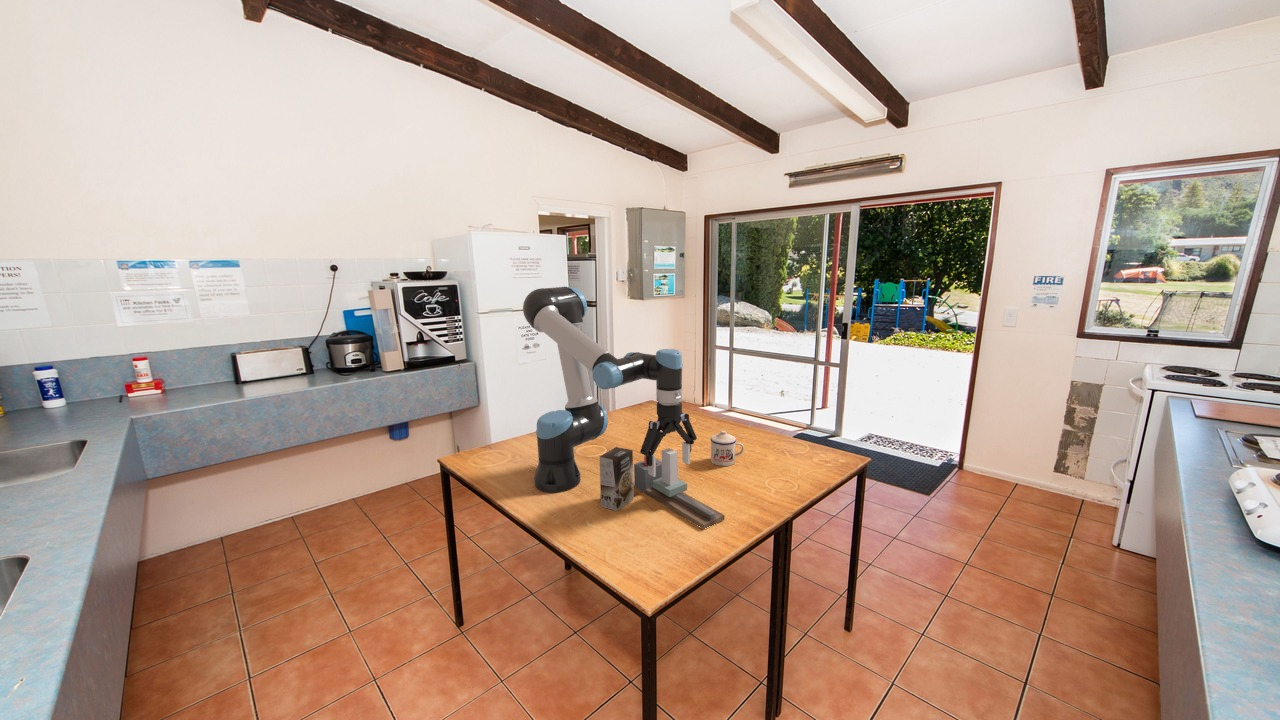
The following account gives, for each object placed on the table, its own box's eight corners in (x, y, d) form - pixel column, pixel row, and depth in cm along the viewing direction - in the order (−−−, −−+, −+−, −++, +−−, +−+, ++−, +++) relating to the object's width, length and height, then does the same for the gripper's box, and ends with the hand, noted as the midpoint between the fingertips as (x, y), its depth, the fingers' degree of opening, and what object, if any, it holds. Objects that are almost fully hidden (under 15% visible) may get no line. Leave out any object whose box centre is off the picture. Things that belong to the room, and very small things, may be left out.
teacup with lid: (711, 466, 166) (711, 435, 164) (709, 456, 175) (709, 426, 173) (745, 467, 165) (746, 436, 163) (741, 456, 174) (742, 427, 172)
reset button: (648, 474, 148) (648, 459, 147) (642, 470, 151) (642, 456, 150) (657, 471, 150) (656, 456, 149) (650, 467, 153) (650, 453, 152)
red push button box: (645, 493, 147) (645, 470, 145) (634, 487, 152) (634, 464, 150) (665, 486, 152) (665, 463, 150) (653, 480, 156) (653, 457, 155)
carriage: (669, 497, 138) (669, 458, 136) (652, 487, 144) (652, 450, 142) (687, 490, 142) (687, 452, 140) (670, 480, 148) (669, 444, 146)
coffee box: (617, 512, 137) (616, 460, 133) (600, 506, 140) (598, 456, 137) (634, 498, 144) (633, 449, 141) (617, 493, 148) (616, 445, 144)
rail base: (703, 529, 127) (704, 519, 126) (645, 493, 147) (645, 485, 146) (724, 520, 131) (724, 510, 131) (665, 486, 152) (665, 477, 151)
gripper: (643, 413, 127) (644, 485, 132) (708, 397, 142) (707, 462, 146) (627, 407, 133) (629, 475, 138) (691, 391, 148) (691, 454, 152)
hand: (669, 469), depth 142 cm, fingers open, 13 cm apart
